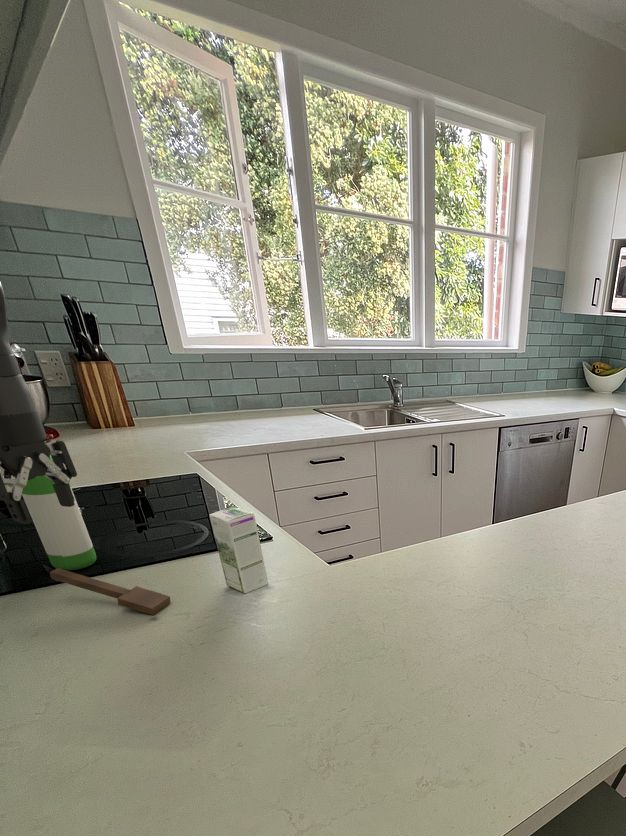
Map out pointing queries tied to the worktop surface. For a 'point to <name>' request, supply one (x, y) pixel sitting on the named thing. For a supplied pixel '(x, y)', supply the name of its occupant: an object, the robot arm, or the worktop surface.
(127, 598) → the brown paddle
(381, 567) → the worktop surface
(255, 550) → the syrup box
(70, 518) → the wine bottle
